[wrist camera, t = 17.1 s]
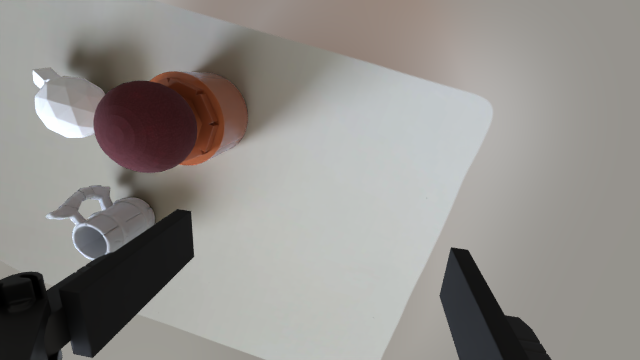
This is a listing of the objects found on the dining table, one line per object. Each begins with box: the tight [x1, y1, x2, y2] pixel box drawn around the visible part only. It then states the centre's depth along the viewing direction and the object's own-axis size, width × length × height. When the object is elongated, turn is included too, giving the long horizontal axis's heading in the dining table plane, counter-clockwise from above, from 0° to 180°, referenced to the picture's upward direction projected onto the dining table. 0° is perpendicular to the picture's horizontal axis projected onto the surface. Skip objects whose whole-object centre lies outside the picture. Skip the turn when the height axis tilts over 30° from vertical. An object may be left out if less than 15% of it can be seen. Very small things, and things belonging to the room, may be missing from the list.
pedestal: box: [150, 71, 248, 165], centre depth 43 cm, size 12×12×10 cm
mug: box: [46, 185, 155, 260], centre depth 50 cm, size 8×12×12 cm, turn 34°
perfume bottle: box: [33, 68, 105, 138], centre depth 46 cm, size 9×9×12 cm
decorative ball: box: [93, 81, 197, 173], centre depth 35 cm, size 10×10×10 cm
